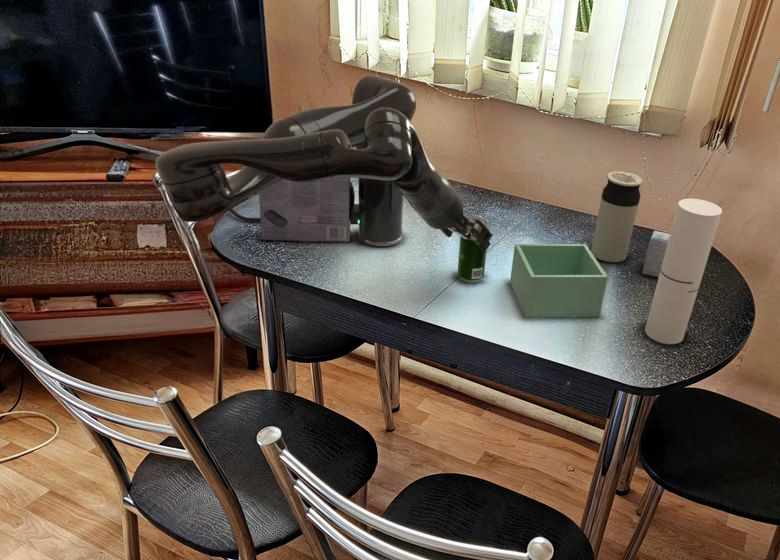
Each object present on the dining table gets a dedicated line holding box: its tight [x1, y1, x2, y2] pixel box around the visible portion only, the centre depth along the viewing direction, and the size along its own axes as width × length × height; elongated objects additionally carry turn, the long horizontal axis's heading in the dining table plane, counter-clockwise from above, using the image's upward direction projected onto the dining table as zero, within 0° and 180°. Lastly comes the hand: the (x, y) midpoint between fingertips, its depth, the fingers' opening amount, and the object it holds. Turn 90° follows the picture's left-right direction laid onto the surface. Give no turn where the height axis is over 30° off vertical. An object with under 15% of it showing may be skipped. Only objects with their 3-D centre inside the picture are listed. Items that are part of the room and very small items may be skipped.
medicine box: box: [641, 230, 670, 278], centre depth 145 cm, size 8×4×9 cm, turn 71°
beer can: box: [457, 216, 490, 284], centre depth 134 cm, size 5×5×12 cm
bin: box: [509, 243, 609, 319], centre depth 131 cm, size 15×14×9 cm
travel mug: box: [590, 171, 644, 263], centre depth 147 cm, size 8×8×18 cm
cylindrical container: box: [644, 198, 723, 345], centre depth 120 cm, size 7×7×25 cm
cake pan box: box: [258, 177, 356, 243], centre depth 141 cm, size 19×5×18 cm, turn 100°
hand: (468, 239), depth 132 cm, fingers open, 8 cm apart
